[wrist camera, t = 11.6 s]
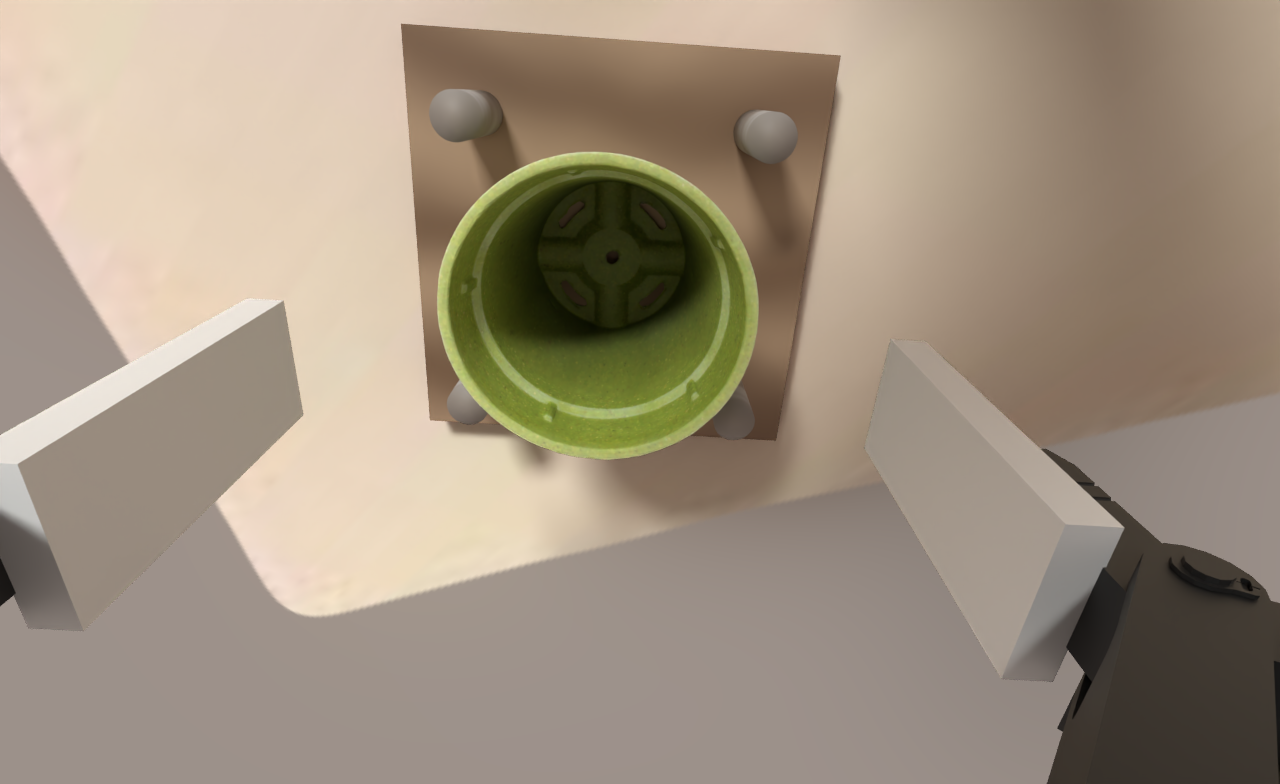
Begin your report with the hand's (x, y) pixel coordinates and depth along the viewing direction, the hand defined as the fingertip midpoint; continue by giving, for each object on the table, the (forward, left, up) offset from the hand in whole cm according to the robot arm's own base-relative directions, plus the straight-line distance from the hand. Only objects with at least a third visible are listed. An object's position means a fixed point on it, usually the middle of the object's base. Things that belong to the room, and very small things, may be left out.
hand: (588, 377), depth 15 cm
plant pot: (0, 0, -14) cm, 14 cm away
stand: (0, 0, -15) cm, 15 cm away
